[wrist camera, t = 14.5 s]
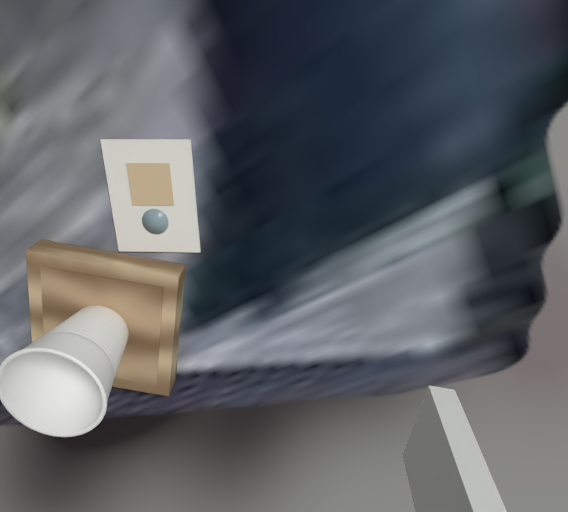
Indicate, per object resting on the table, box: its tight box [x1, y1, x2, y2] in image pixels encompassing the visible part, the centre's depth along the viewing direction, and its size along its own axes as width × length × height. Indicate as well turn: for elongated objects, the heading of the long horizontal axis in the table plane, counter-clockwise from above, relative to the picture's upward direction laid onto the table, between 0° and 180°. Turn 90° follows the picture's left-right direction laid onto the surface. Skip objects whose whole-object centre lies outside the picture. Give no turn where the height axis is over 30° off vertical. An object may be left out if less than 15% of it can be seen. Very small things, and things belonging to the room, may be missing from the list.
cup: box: [0, 306, 129, 437], centre depth 46 cm, size 10×10×11 cm
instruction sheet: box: [100, 139, 201, 253], centre depth 48 cm, size 12×9×1 cm
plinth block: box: [26, 240, 186, 396], centre depth 52 cm, size 16×16×3 cm
